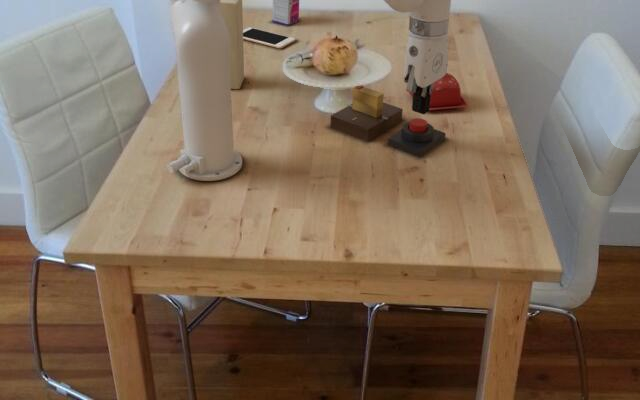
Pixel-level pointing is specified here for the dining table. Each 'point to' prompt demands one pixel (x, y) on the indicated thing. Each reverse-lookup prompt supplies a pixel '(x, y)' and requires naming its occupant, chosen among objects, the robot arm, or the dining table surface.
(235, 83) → the toy refrigerator
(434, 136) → the alarm box
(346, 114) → the plate
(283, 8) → the supplement box
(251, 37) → the cell phone
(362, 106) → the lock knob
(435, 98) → the butter dish
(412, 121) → the alarm button
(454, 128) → the dining table surface
